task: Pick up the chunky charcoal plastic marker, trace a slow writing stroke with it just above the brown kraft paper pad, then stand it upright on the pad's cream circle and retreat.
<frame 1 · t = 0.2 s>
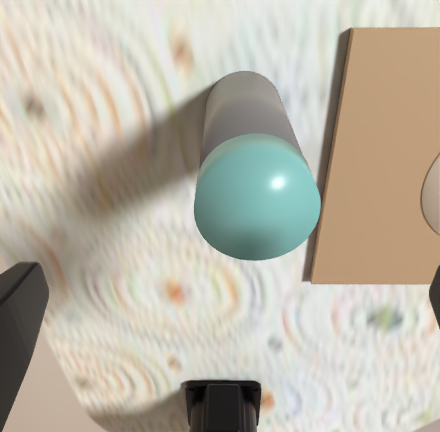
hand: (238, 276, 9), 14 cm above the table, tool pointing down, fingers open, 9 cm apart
marker: (243, 109, 21), on the table
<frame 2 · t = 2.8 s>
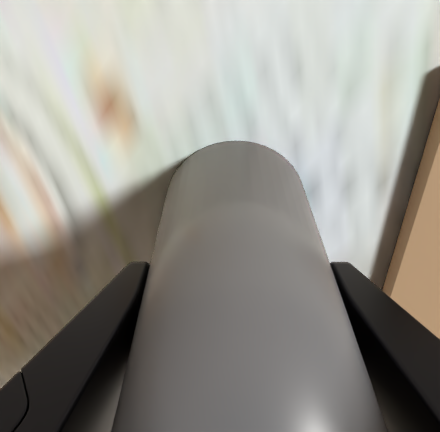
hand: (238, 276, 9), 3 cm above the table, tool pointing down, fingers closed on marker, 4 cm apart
marker: (235, 205, 12), on the table, touching gripper
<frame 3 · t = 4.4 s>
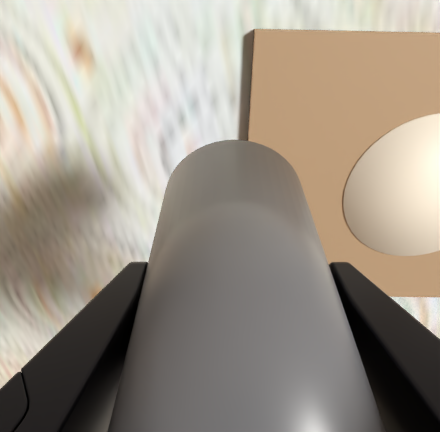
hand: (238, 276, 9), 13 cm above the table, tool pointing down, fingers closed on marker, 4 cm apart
marker: (233, 204, 12), point 10 cm above the table, touching gripper
kraft pad: (368, 185, 23), on the table
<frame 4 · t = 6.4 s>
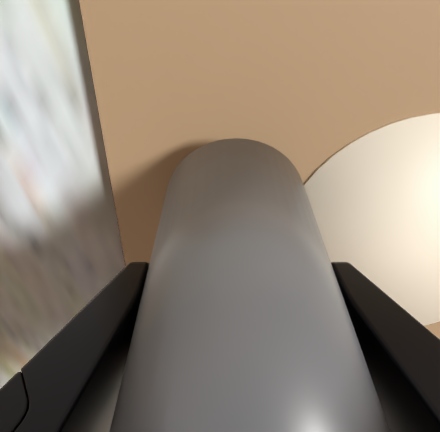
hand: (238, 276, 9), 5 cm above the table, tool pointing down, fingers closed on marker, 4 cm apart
marker: (235, 203, 12), point 2 cm above the table, touching gripper
kraft pad: (320, 229, 14), on the table
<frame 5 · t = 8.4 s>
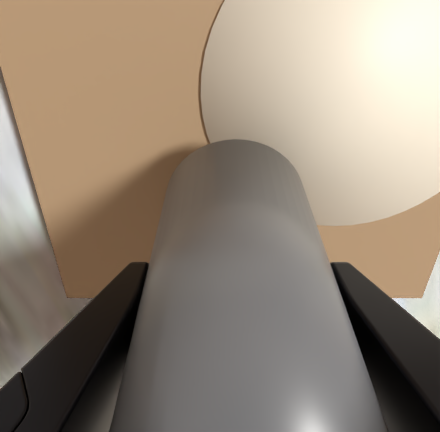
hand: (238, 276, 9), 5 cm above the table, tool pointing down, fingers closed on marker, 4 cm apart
marker: (234, 204, 12), point 2 cm above the table, touching gripper
kraft pad: (251, 88, 12), on the table
when the fingers open (4 cm above the table, at t = 9.9 s): marker stays where it is, resting on kraft pad.
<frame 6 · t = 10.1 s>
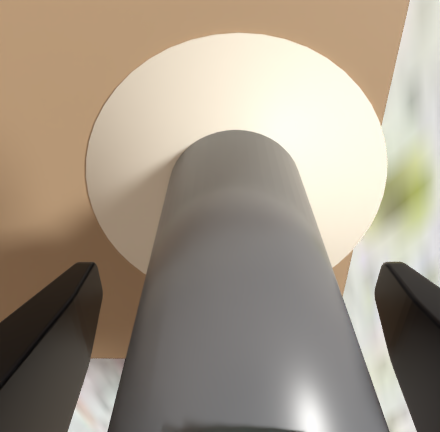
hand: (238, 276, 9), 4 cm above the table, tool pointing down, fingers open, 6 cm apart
marker: (234, 192, 12), point 1 cm above the table, touching kraft pad
kraft pad: (141, 182, 13), on the table
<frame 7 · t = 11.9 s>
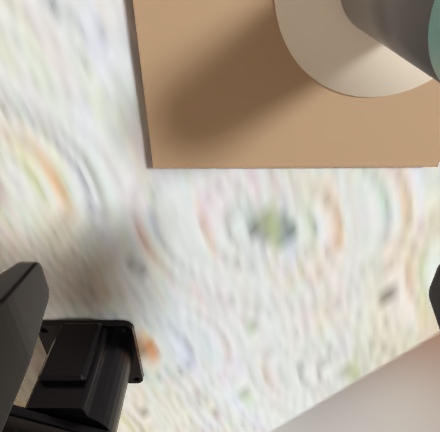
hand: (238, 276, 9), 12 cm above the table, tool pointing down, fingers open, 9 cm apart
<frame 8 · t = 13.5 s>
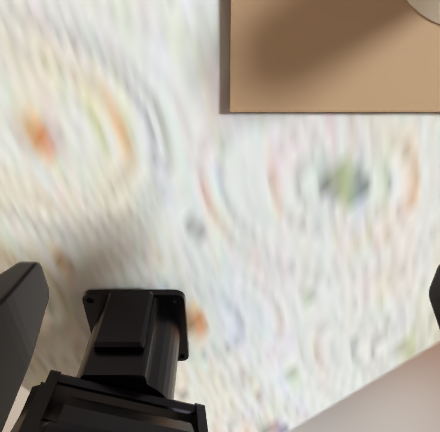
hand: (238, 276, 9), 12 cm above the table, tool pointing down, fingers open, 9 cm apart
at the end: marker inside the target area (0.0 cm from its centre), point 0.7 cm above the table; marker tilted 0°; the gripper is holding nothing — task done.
